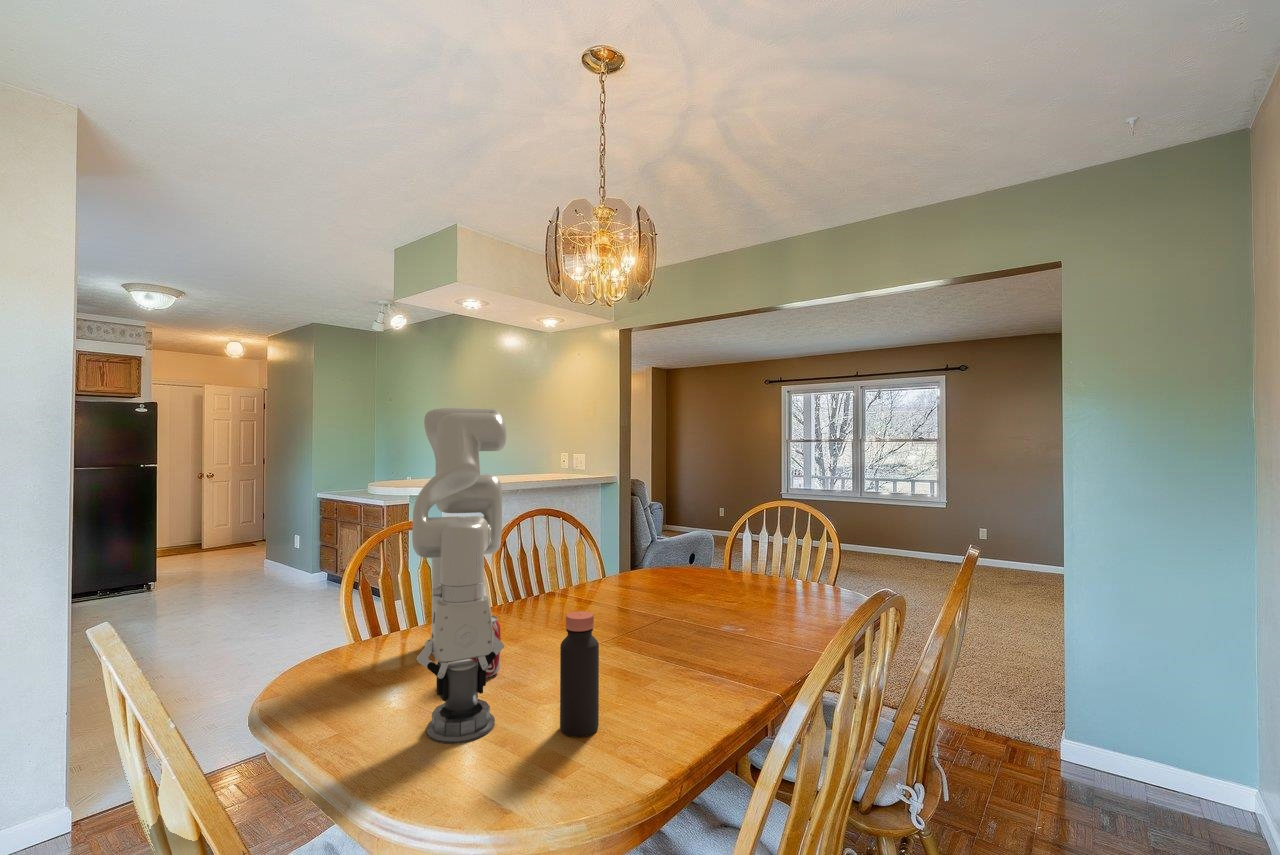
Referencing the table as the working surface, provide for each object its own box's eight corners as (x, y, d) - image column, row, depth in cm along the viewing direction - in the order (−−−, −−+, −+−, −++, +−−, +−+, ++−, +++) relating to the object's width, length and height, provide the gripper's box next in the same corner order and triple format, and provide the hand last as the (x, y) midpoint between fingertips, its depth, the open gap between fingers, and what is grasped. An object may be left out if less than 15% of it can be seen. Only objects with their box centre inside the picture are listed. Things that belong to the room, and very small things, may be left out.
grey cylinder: (441, 701, 107) (442, 661, 107) (473, 694, 110) (473, 656, 110) (448, 713, 102) (449, 672, 102) (481, 706, 105) (481, 665, 105)
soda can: (506, 670, 132) (506, 616, 133) (488, 682, 126) (488, 625, 126) (479, 666, 135) (479, 612, 135) (460, 678, 128) (460, 621, 128)
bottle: (566, 741, 101) (566, 622, 102) (555, 724, 107) (556, 612, 108) (604, 733, 104) (604, 617, 104) (591, 717, 110) (591, 608, 111)
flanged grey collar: (420, 721, 108) (421, 704, 108) (484, 707, 114) (484, 691, 114) (433, 749, 98) (433, 731, 98) (502, 732, 104) (502, 715, 104)
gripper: (415, 603, 99) (414, 713, 99) (515, 590, 108) (515, 692, 107) (407, 593, 106) (406, 696, 105) (503, 582, 114) (502, 678, 114)
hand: (461, 693), depth 106 cm, fingers closed on grey cylinder, 5 cm apart
